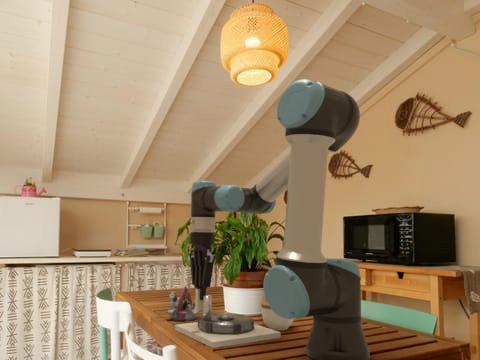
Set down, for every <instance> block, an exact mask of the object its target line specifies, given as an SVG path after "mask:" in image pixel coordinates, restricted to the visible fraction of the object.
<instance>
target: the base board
mask: <svg viewBox="0 0 480 360" xmlns="http://www.w3.org/2000/svg"><path fill="white" fill-rule="evenodd" d="M174 330H175V331H176V332H178V333H181V334H183V335H185V336H187V337H189V338H191V339H193V340H194V341H195V340H196V341H197V342H199V343H202V344H203V345H206V346H207V347H210V348H212V349H217V348H223V347H231V346H236V345H242V344H249V343H250V344H251V343H256V342H261V341H262V342H263V341H268V340H270V341H271V340H275V339H281V336H282V335H281V332H280V331H277V330H272V329H269V328H268V327H265V326H262V325H259V324H255V323H254V329H252V330H250V331H247V332H243V333H237V334H220V333H209V332H205V331H202V330H200V329H199V327H198V321H197V322H195V321H194V322H188V323H178V324H174Z"/></svg>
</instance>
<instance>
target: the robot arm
mask: <svg viewBox="0 0 480 360" xmlns="http://www.w3.org/2000/svg"><path fill="white" fill-rule="evenodd" d="M276 117H277V120H278V122H279V123H280V125H282V126H283V127H284V128H285V135H284V136H285V137H284V139H285V141H286V142H287V143H288V144H289V146H290V151H289V152H287V154H286V155H285V156H284V157H282V159H280V160H279V162H277V164H275V166H273V167H272V168H271V169H270V170H269V171H268V172H267V173H266V174H265V175H264V176H263V177H262V178H261V179H260V180H259V181H258V182H256V184H254V186H252V187H251V188H249V187H248V188H247V187H240V186H238V185H236V184H224V185H218V186H217V184H216V182H215V181H211V180H197V181H194V182H193V183H192V187H191V193H190V196H191V198H190V204H191V205H190V221H189V223H190V230H191V232H190V233H189V235H190V236H189V243H190V245H193V249H192V252H191V253H189V254H188V257H189V261H190V263H189V264H190V273H191V284H192V286H194V288H195V295H194V296H195V300H194V302H195V311H198V312H203V301H204V295H207V294H206V293H207V289H208V288H211V285H212V279H213V278H212V276H213V270H214V265H215V262H216V255H215V254H212V247H211V246H212V245H214V244H215V241H216V240H215V239H216V237H215V236H216V235H215V232H214V231H216V213H217V212H218V213H219V212H226V213H227V212H228V213H248V214H257V215H263V214H266V215H267V214H270V213H271V212H273V211H274V208H275V207H276V203H277V202H276V201H277V199H278V198H279V197H281V196H282V194H284V193H285V192H286V191H287V195H286V206H285V207H286V208H285V219H284V221H285V223H284V235H283V248H282V249H281V250H280V251H279V252H277V254H276V256H275V265H274V266H272V267H270V268H269V269H268V270H267V271H268V272H266V273H265V275H264V277H263V283H262V284H263V288H262V289H263V294H264V297H265V300H266V301H267V303H268V304H269V305H270V308H271V309H272V310H273V311H274V312H275V313H276V314H277V315H278V316H280V317H282V318H285V319H295V320H301V319H304V318H309V317H312V325H311V327H310V332H309V336H308V340H307V341H306V344H305V347H306V349H305V353H306V356H307V357H309V358H311V359H313V360H370V359H371V355H370V352H371V351H370V347H369V344H368V343H367V340H366V334H365V331H364V329H363V325H362V303H361V301H362V295H361V293H362V290H361V289H362V287H361V281H362V277H361V272H360V271H361V268H360V266H359V264H358V263H356V262H354V261H352V260H345V259H335V258H326V257H325V256H324V254H323V252H322V240H323V239H322V238H323V225H324V224H323V223H324V211H325V210H324V209H325V196H326V182H327V169H328V168H327V166H328V156H329V155H328V154H329V153H336V152H338V151H339V150H340V149H341V148H342V147H344V146H345V145H346V144H347V143H348V142H349V141H350V139H352V137H353V136H354V134H355V133H356V131H357V129H358V127H359V124H360V120H361V114H360V107H359V105H358V102H357V101H356V100H355V98H354V97H353V96H351V94H349V93H347V92H345V91H342V90H338V89H336V88H333V87H331V86H328V85H326V84H323V83H321V82H320V81H319V80H318V81H316V80H312V79H308V78H301V79H298V80H295V81H294V82H291V83H290V84H289V85H288V86H287V87H286V89H285V90H283V92H282V93H281V95H280V97H279V99H278V103H277V106H276Z"/></svg>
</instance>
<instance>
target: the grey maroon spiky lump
mask: <svg viewBox="0 0 480 360" xmlns="http://www.w3.org/2000/svg"><path fill="white" fill-rule="evenodd" d="M180 293H181V294H180V295H179V297H178V296H177V292H176V291H171V292H170V294H169V298H170V299H171V301H170V304H169V305H170V306H169V307H170V309H168V310H165V312H166V314H167V315H168V316H170V317H171V319H172V320H173V321H175V322H192V321H193V320H196V319H198V316H199V312H200V311H195V301H194V302H193V300H192V296H191V294H190V292H189V289H188V286H184V287H183V288H182V291H181V292H180Z"/></svg>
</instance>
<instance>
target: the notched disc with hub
mask: <svg viewBox="0 0 480 360" xmlns="http://www.w3.org/2000/svg"><path fill="white" fill-rule="evenodd" d="M212 300H213V296H212V295H211V294H206V295H204V301H203V311H202V312H203V313H202V316H200V317H197V322H198V327H199V329H200V330H202V331H205V332H209V333H220V334H237V333H243V332H247V331H250V330H252V329H254V324H255V318H252V316H248V315H244V314H236V313H235V314H234V313H230V312H229V313H228V312H227V313H226V312H221V313H212V309H213V307H212V302H213V301H212Z"/></svg>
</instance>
